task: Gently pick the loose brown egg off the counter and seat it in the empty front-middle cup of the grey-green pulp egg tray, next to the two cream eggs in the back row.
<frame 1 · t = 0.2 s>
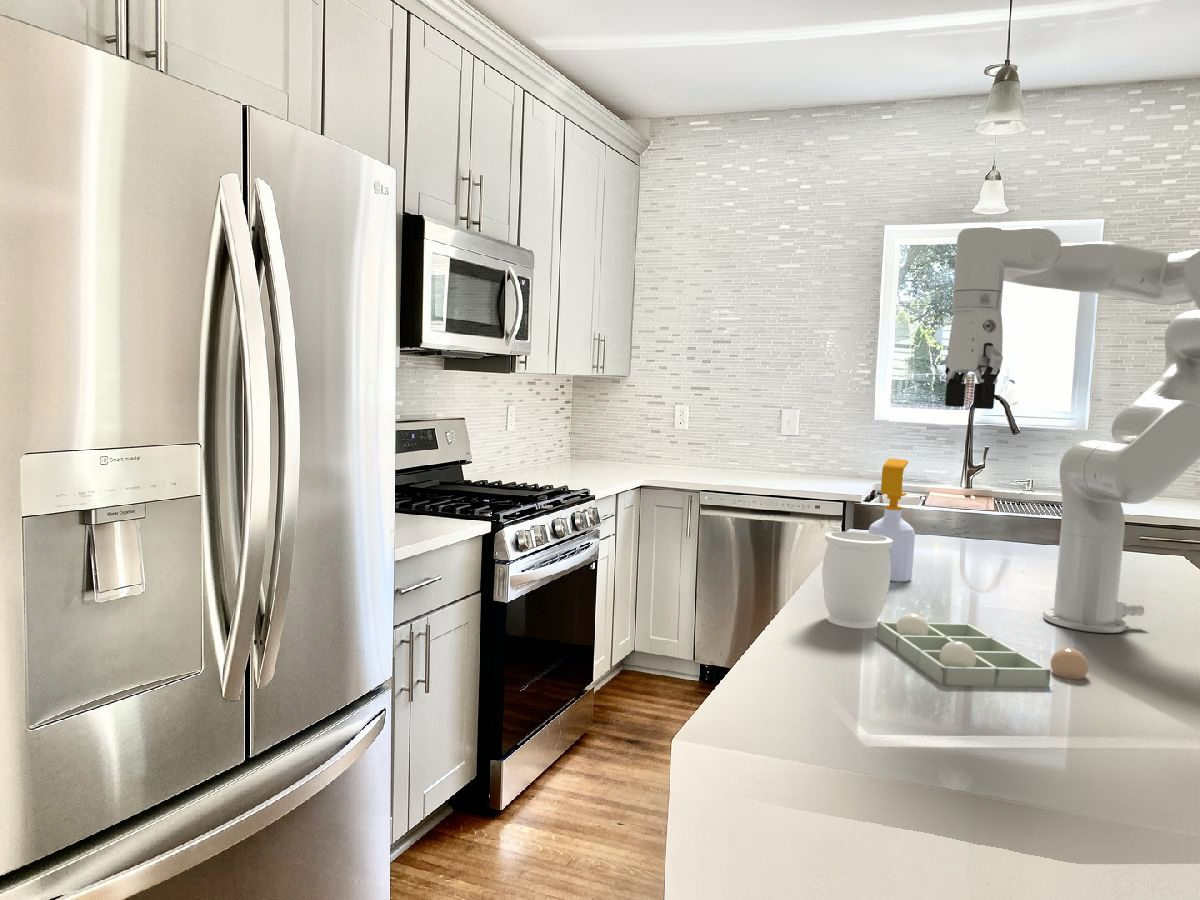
hand: (968, 407, 148), 36 cm above the counter, tool pointing down, fingers open, 9 cm apart
jar: (852, 628, 145), on the counter
cream egg a: (911, 643, 133), point 1 cm above the counter, touching egg tray
brown egg: (1067, 681, 122), on the counter
soap bottle: (888, 578, 185), on the counter
cream egg b: (956, 675, 120), point 1 cm above the counter, touching egg tray
egg tray: (955, 665, 127), on the counter
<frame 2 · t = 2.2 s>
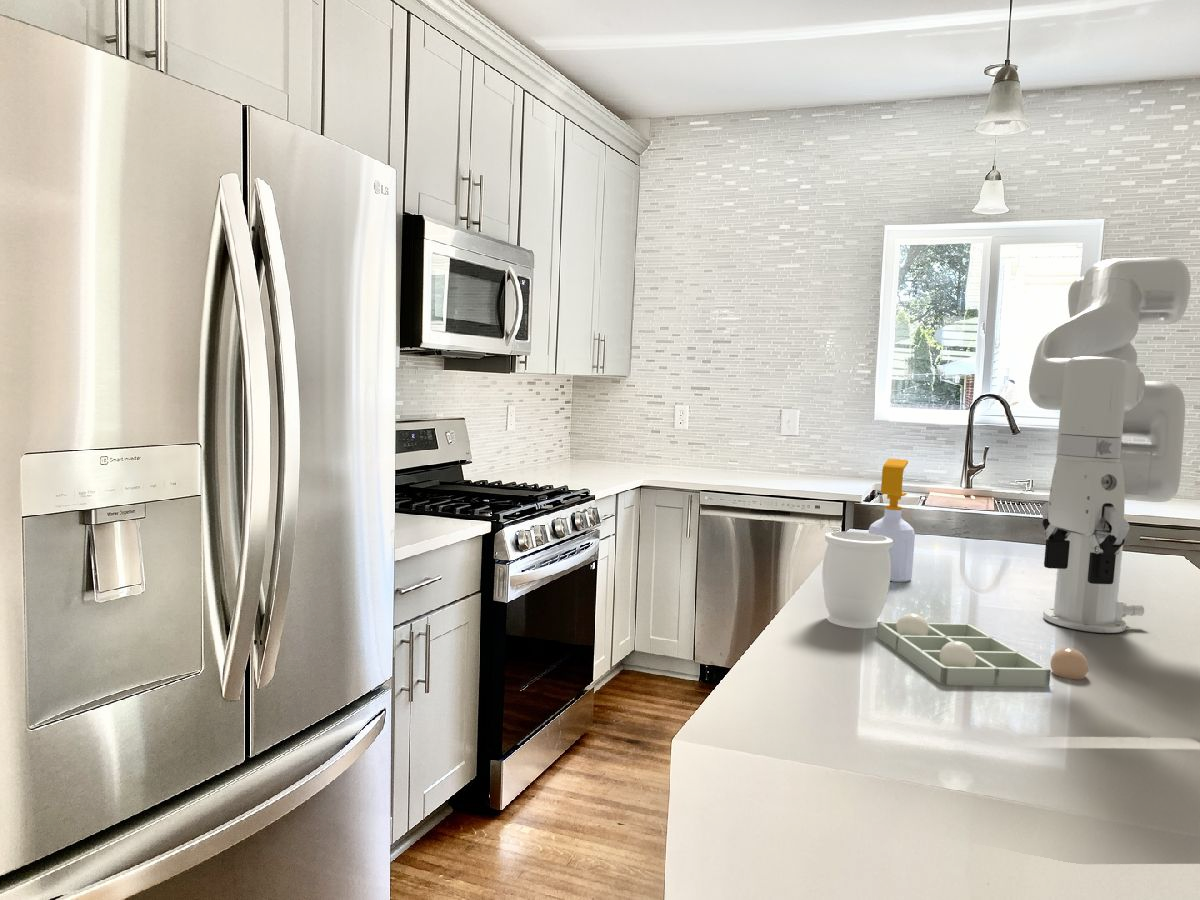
hand: (1077, 575, 121), 15 cm above the counter, tool pointing down, fingers open, 9 cm apart
nothing on the counter moved.
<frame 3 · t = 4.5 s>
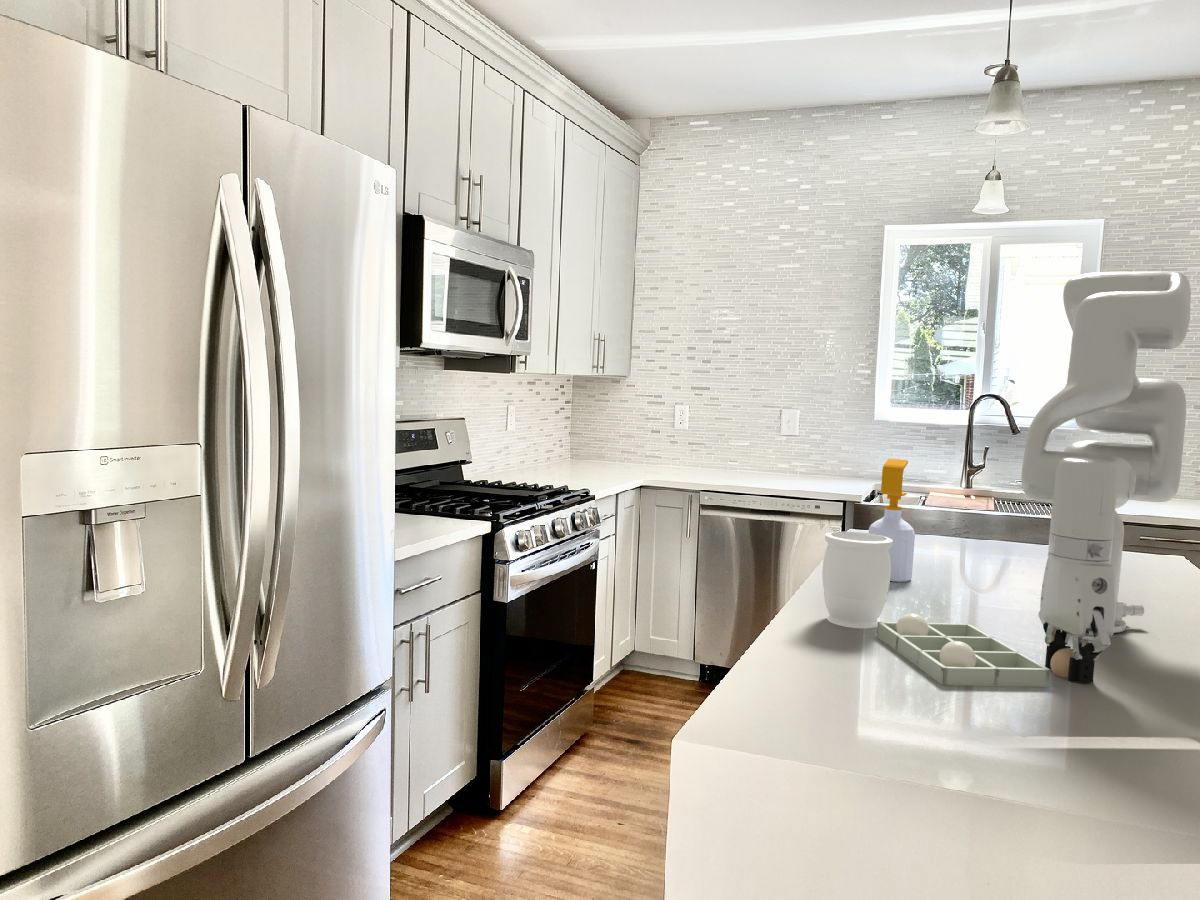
hand: (1067, 679, 122), 0 cm above the counter, tool pointing down, fingers closed on brown egg, 4 cm apart
brown egg: (1067, 681, 122), on the counter, touching gripper
everything else where it was.
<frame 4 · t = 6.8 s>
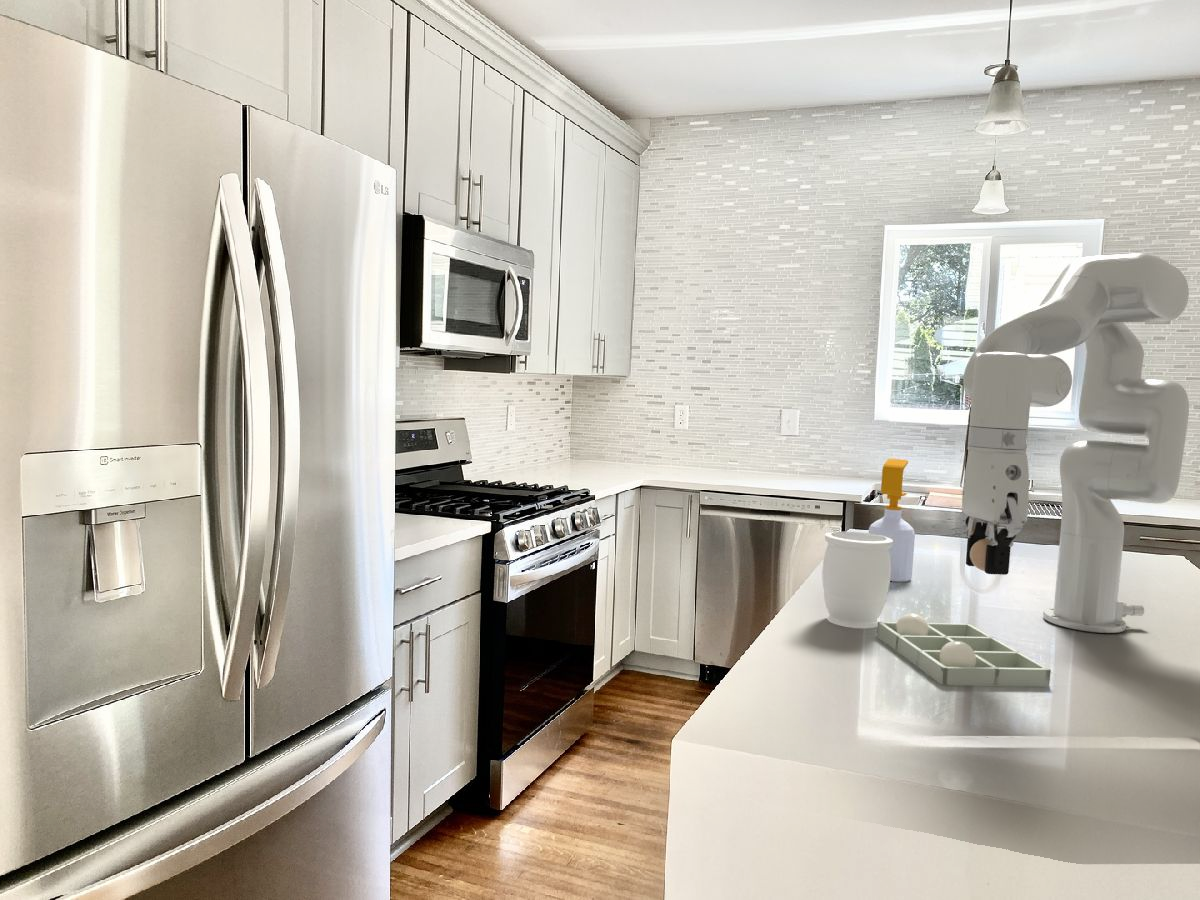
hand: (986, 568, 126), 14 cm above the counter, tool pointing down, fingers closed on brown egg, 4 cm apart
brown egg: (986, 571, 126), point 14 cm above the counter, touching gripper
everything else where it was.
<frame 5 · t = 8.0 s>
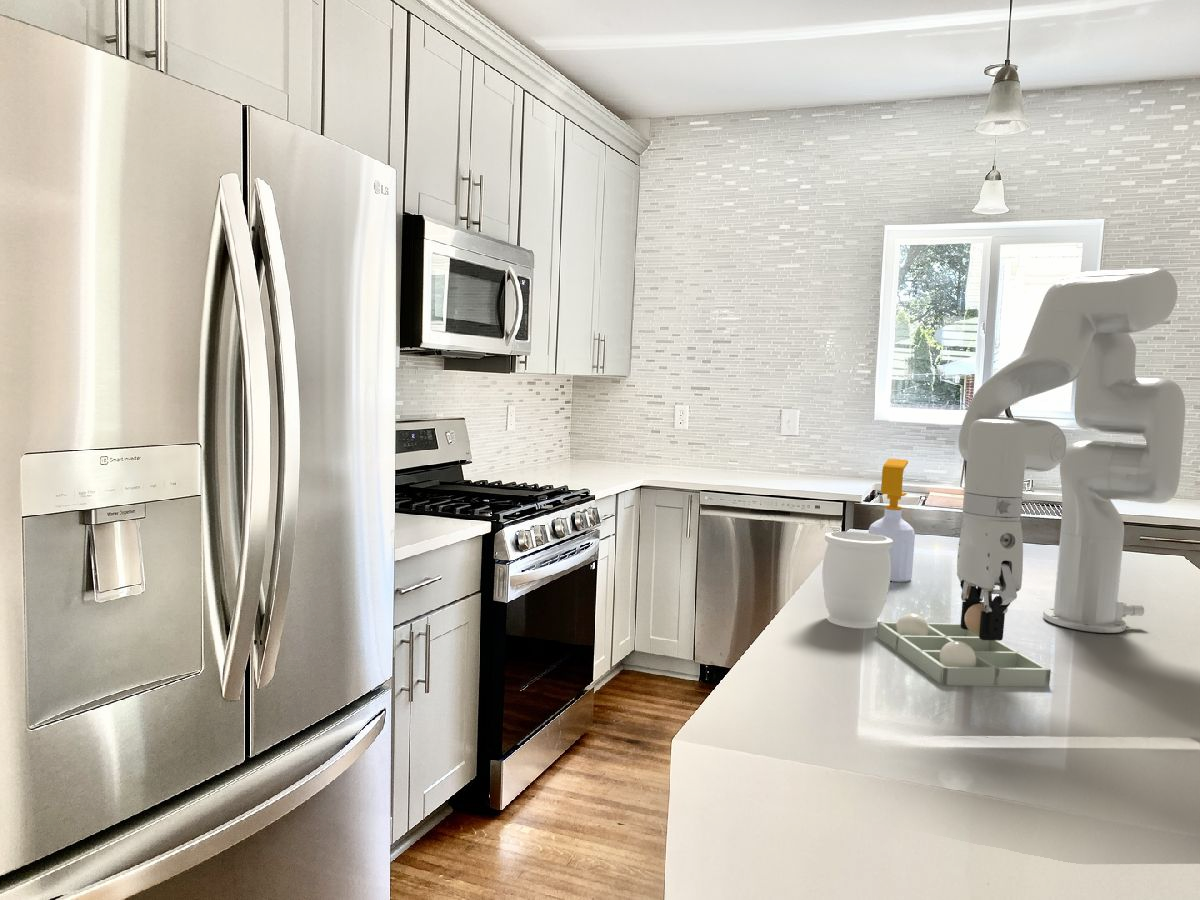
hand: (981, 633, 127), 5 cm above the counter, tool pointing down, fingers closed on brown egg, 4 cm apart
brown egg: (980, 635, 127), point 5 cm above the counter, touching gripper
everything else where it was.
when the fingers open (4 cm above the counter, at t = 9.0 s): brown egg drops 2 cm, resting on egg tray.
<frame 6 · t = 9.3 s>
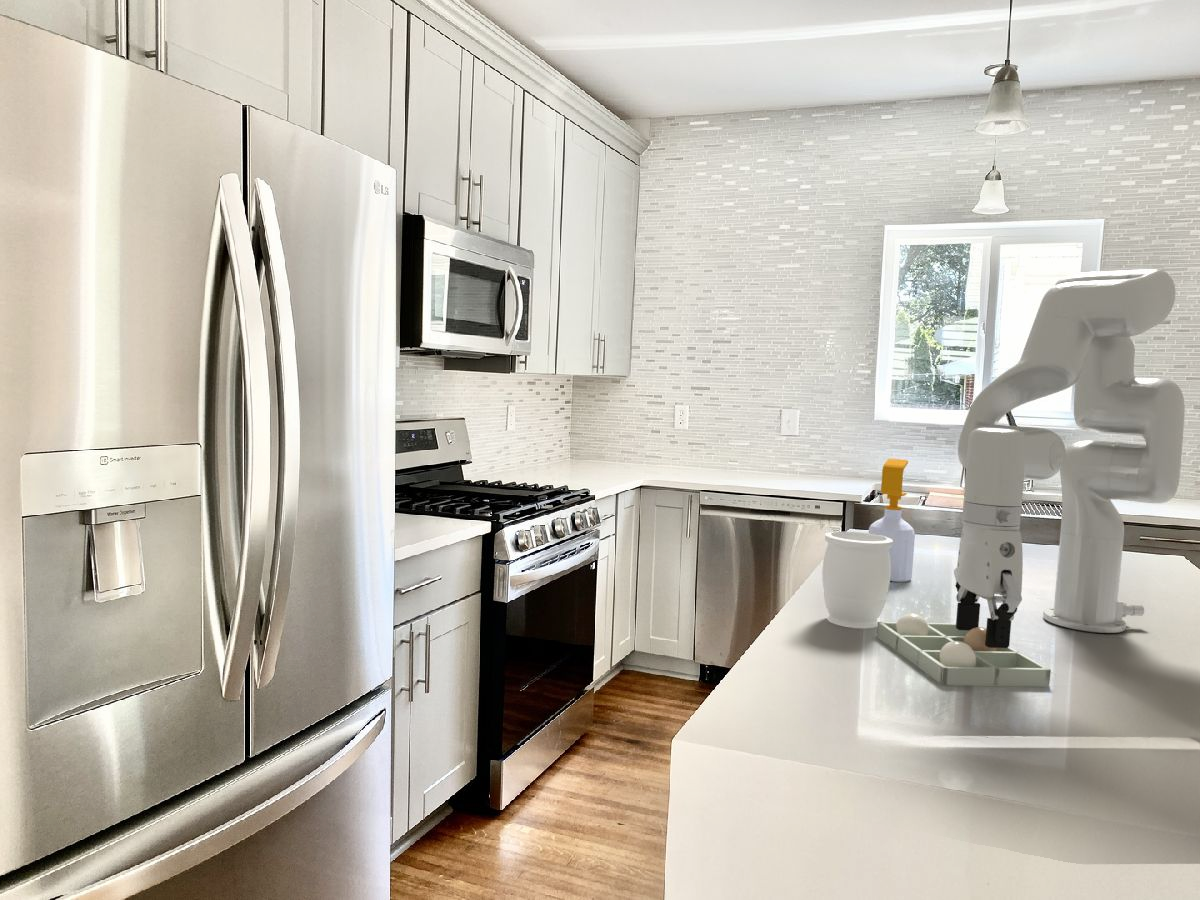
hand: (981, 637, 127), 4 cm above the counter, tool pointing down, fingers open, 7 cm apart
brown egg: (979, 659, 127), point 1 cm above the counter, touching egg tray
everything else where it was.
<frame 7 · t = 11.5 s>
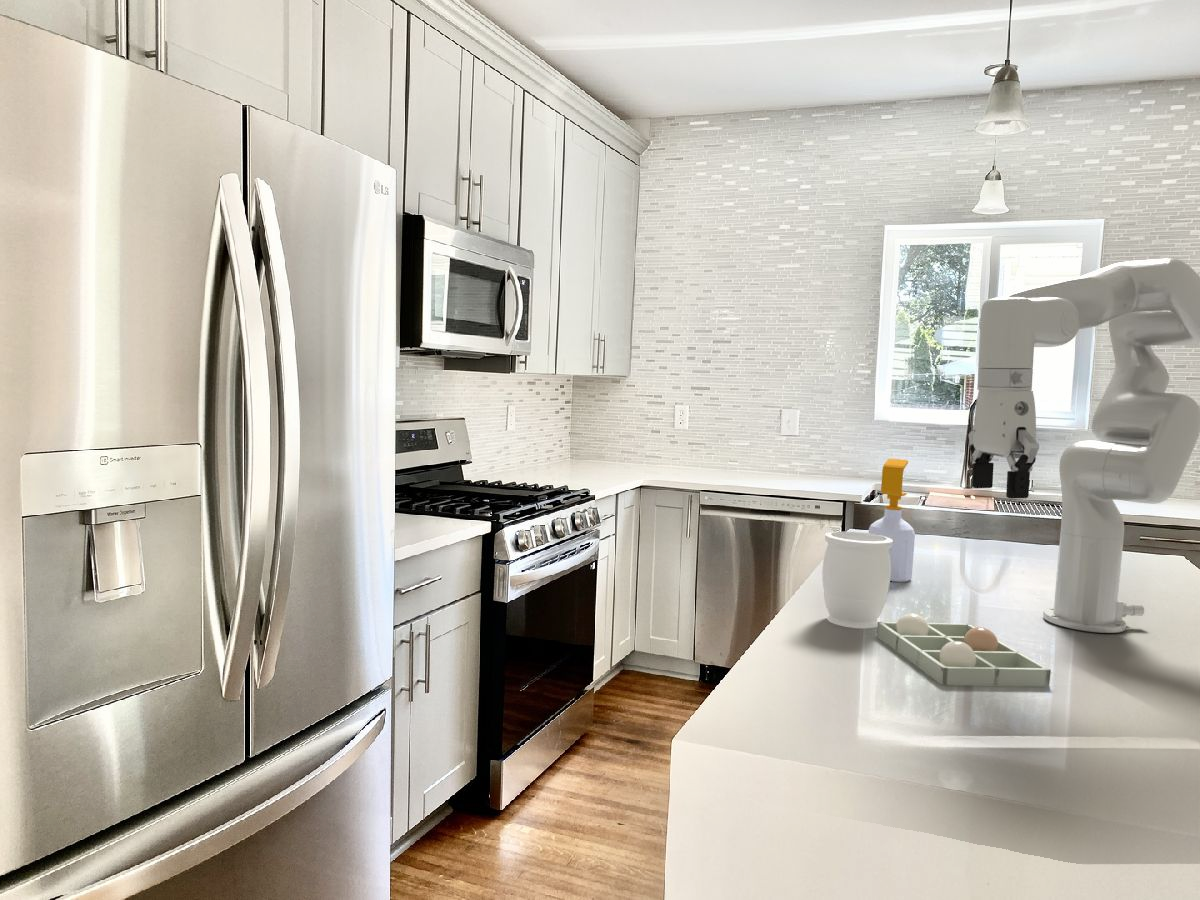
hand: (999, 492, 136), 24 cm above the counter, tool pointing down, fingers open, 9 cm apart
nothing on the counter moved.
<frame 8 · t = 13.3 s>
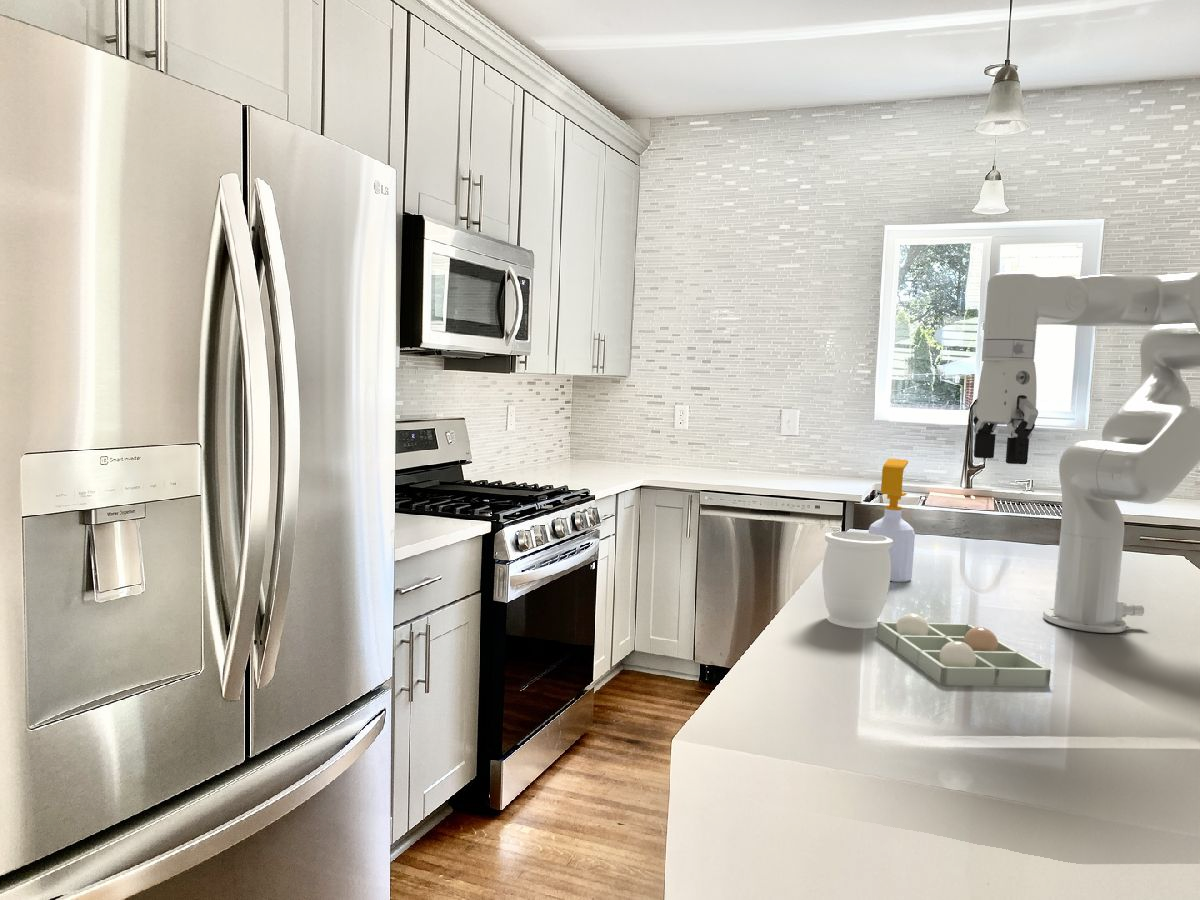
hand: (999, 460, 142), 28 cm above the counter, tool pointing down, fingers open, 9 cm apart
nothing on the counter moved.
at the end: brown egg 0.0 cm from the target spot on the egg tray, point 1.0 cm above the egg tray's base; the gripper is holding nothing; cream egg a 0.0 cm from the target spot on the egg tray, point 1.0 cm above the egg tray's base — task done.
